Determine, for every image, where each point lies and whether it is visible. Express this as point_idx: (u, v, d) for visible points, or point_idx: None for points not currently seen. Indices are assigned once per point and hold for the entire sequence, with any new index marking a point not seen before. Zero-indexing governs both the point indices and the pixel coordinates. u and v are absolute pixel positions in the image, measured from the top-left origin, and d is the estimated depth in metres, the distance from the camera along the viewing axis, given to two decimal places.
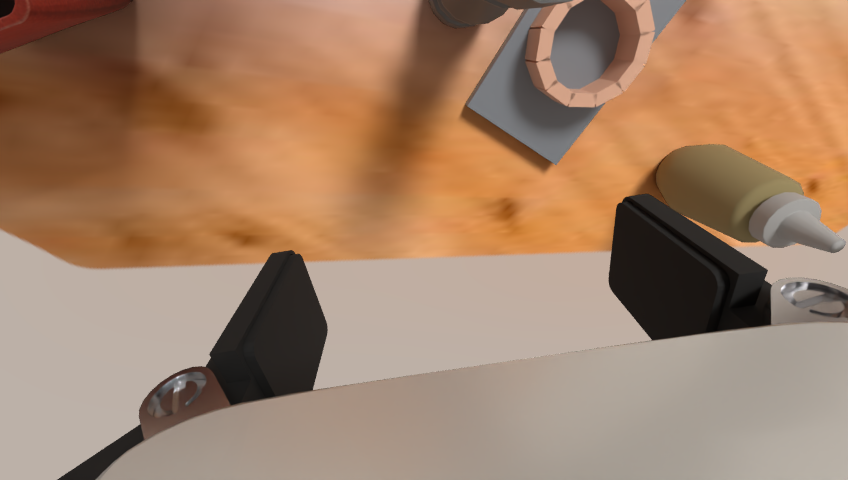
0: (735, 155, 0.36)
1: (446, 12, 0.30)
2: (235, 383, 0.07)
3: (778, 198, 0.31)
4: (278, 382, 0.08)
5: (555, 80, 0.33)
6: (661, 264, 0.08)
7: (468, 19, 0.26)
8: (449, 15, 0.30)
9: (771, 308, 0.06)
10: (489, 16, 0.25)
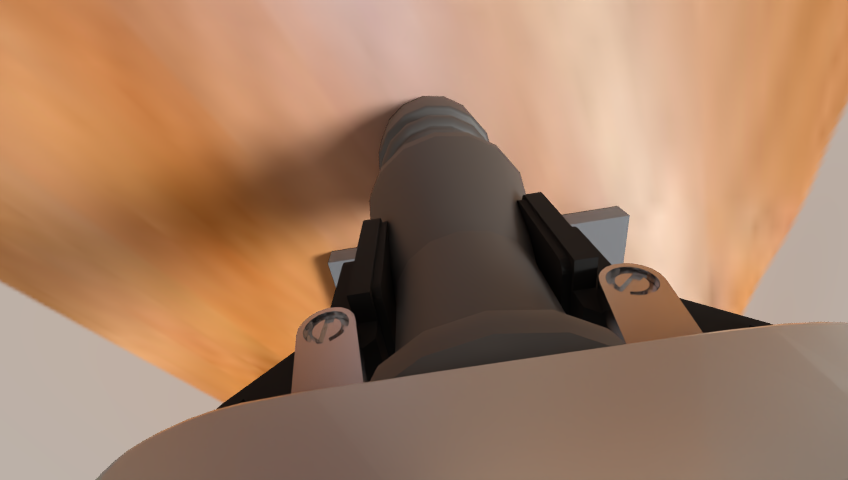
0: None
1: None
2: (364, 323, 0.08)
3: None
4: (392, 327, 0.09)
5: None
6: (538, 254, 0.10)
7: None
8: None
9: (607, 299, 0.07)
10: None
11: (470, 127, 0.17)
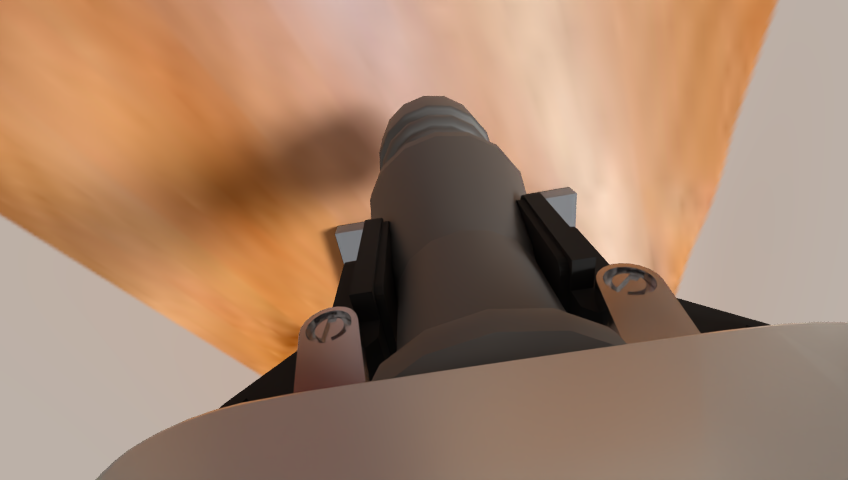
0: None
1: None
2: (367, 322, 0.08)
3: None
4: (394, 326, 0.09)
5: None
6: (537, 254, 0.10)
7: None
8: None
9: (604, 300, 0.07)
10: None
11: (470, 127, 0.17)
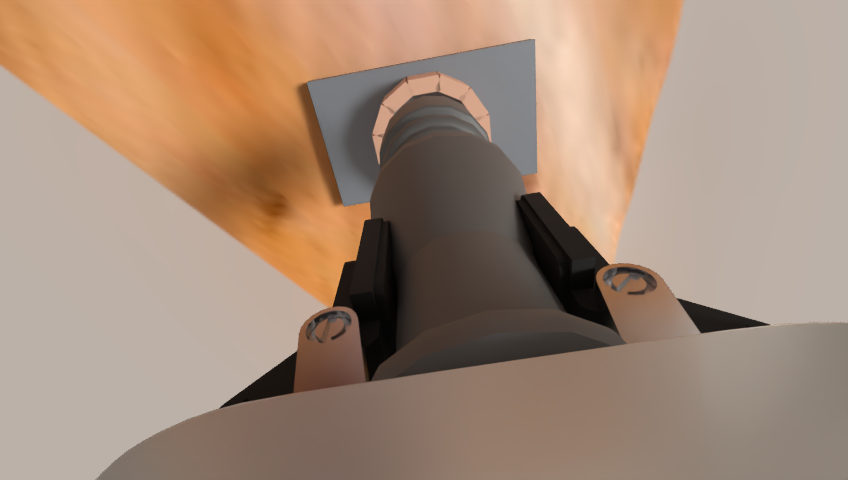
0: None
1: None
2: (367, 322, 0.08)
3: None
4: (394, 326, 0.09)
5: None
6: (537, 254, 0.10)
7: None
8: None
9: (604, 299, 0.07)
10: None
11: (471, 127, 0.17)
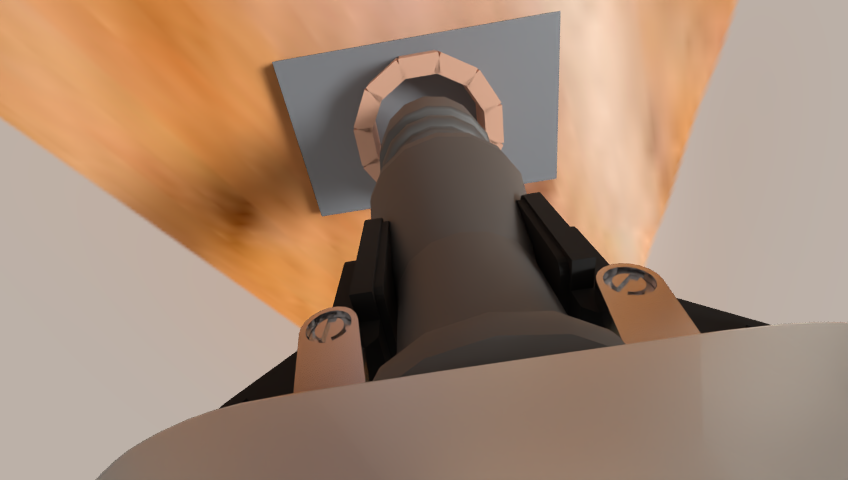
0: None
1: None
2: (367, 322, 0.08)
3: None
4: (394, 326, 0.09)
5: (370, 128, 0.25)
6: (537, 254, 0.10)
7: None
8: None
9: (604, 299, 0.07)
10: None
11: (471, 127, 0.17)
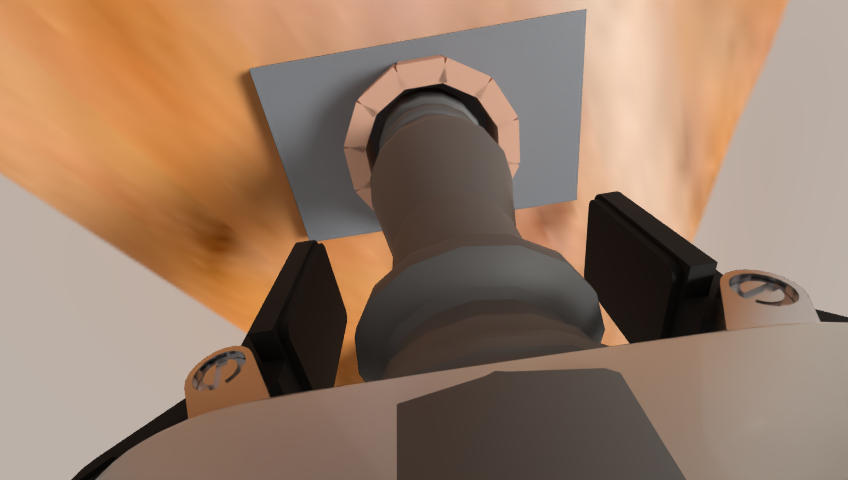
0: None
1: None
2: (270, 362, 0.08)
3: None
4: (308, 363, 0.08)
5: (363, 147, 0.21)
6: (626, 258, 0.09)
7: None
8: None
9: (722, 301, 0.06)
10: None
11: (461, 114, 0.19)
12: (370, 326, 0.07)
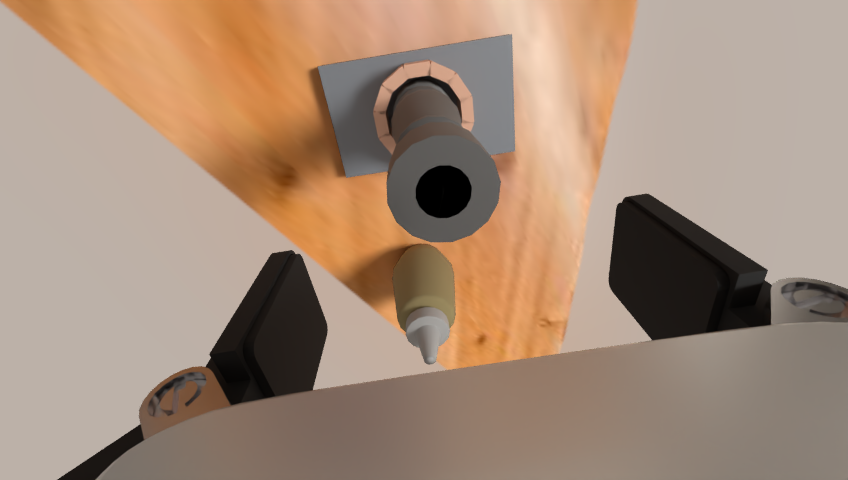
0: (446, 272, 0.44)
1: None
2: (235, 383, 0.07)
3: (434, 310, 0.38)
4: (278, 382, 0.08)
5: (384, 111, 0.37)
6: (661, 264, 0.08)
7: (397, 144, 0.31)
8: None
9: (771, 308, 0.06)
10: None
11: (439, 92, 0.35)
12: None
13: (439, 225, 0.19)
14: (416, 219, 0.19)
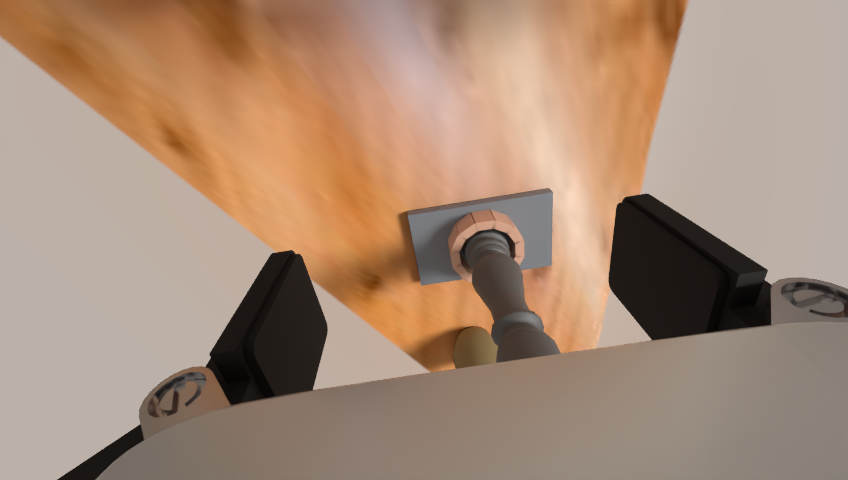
0: None
1: (469, 259, 0.49)
2: (235, 383, 0.07)
3: None
4: (278, 382, 0.08)
5: (458, 251, 0.50)
6: (661, 264, 0.08)
7: (476, 291, 0.44)
8: (469, 261, 0.49)
9: (770, 308, 0.06)
10: None
11: (501, 242, 0.48)
12: (497, 326, 0.36)
13: None
14: None
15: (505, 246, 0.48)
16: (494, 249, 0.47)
